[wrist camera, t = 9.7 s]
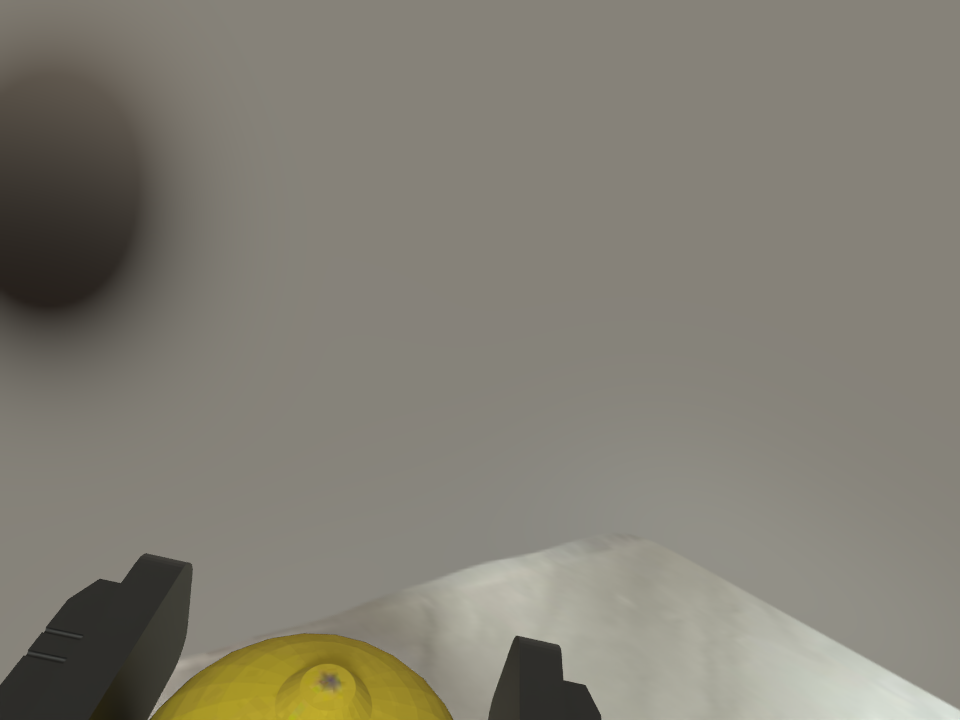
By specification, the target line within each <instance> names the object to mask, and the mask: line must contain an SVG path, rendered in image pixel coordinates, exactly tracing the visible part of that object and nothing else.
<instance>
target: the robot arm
mask: <svg viewBox="0 0 960 720" xmlns="http://www.w3.org/2000/svg"><path fill="white" fill-rule="evenodd" d="M192 570H193V569H192V564H191V563H188V562H183V561H178V560H173V559H169V558H165V557H160V556H155V555H151V554H144V555H142V556H141V557H140V558H139V559H138V561H137V562H136V563H135V564H134V566H133V567H132V569H131V570H130V571H129V573H128V574H127V576H126V577H125V579H124V580H123V581H122V583H117V582H112V581H108V580H103V579H99V580H97V581H96V582H94V583H93V584H91V585H90V586H88V587H87V588H85V589H83V590H82V591H80V592H79V593H77V594H76V595H74V596H73V597H71V598H70V599H68V600H67V601H66V603H65V604H64V605H63V606H62V608H61V609H60V610H59V612H58V613H57V614H56V615H55V617H54V618H53V619H52V620H51V622H50V623H49V624H48V625H47V627H46V630H45V632H44V633H43V632H42V633H41V634H40V636H39V637H38V638H37V639H36V641H35V642H34V643H33V644H32V646H31V647H30V648H29V649H28V653H27V655H26V656H23V657H22V658H21V660H20V661H19V662H18V663H17V665H16V666H15V667H14V668H13V670H12V671H11V672H10V674H9V675H8V676H7V677H6V679H5V680H4V681H3V682H2V684H1V685H0V720H147V719H148V718H149V716H150V714H151V712H152V710H153V708H154V706H155V705H156V703H157V701H158V699H159V697H160V695H161V693H162V692H163V690H164V688H165V686H166V684H167V682H168V680H169V679H170V677H171V675H172V673H173V671H174V669H175V667H176V665H177V663H178V660H179V657H180V655H181V652H182V649H183V646H184V642H185V639H186V634H187V626H188V616H189V605H190V594H191V583H192ZM488 720H601V714H600V712H599V711H598V709H597V707H596V705H595V703H594V701H593V699H592V697H591V695H590V693H589V691H588V689H587V687H586V685H583V684H578V683H573V682H569V681H564V680H563V669H562V654H561V648H560V646H559V645H557V644H552V643H547V642H543V641H538V640H534V639H529V638H525V637H520V636H516V637H515V638H514V640H513V643H512V645H511V648H510V651H509V654H508V657H507V659H506V662H505V665H504V668H503V671H502V674H501V676H500V679H499V682H498V685H497V688H496V691H495V693H494V696H493V700H492V703H491V708H490V712H489V718H488Z"/></svg>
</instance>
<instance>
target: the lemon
mask: <svg viewBox="0 0 960 720" xmlns="http://www.w3.org/2000/svg"><path fill="white" fill-rule="evenodd" d="M150 720H453V719H452V716H451V714H450V713H449V711H448V709H447V708H446V706H445V704H444V703H443V702H442V701H441V700H440V698H439V697H438V696H437V695H436V693H435V692H434V691H433V690H432V689H431V687H430V686H429V685H428V684H427V683H426V681H425V680H424V679H423V678H422V677H420V676H419V675H418V674H417V673H415V672H414V671H413V670H411V669H410V668H409V667H407V666H406V665H405V664H404V663H402V662H401V661H400V660H398V659H397V658H396V657H394V656H393V655H391V654H389V653H387V652H384V651H382V650H380V649H378V648H376V647H374V646H372V645H370V644H368V643H366V642H362V641H358V640H354V639H350V638H346V637H342V636H338V635H329V634H306V633H304V634H297V635H291V636H284V637H277V638H272V639H267V640H264V641H261V642H259V643H256V644H253V645H250V646H247V647H245V648H242V649H239V650H236V651H233V652H231V653H230V654H228V655H226V656H225V657H223V658H221V659H220V660H218V661H217V662H215V663H213V664H212V665H210V666H208V667H207V668H205V669H204V670H202V671H200V672H199V673H198V674H196V675H195V676H194V677H192V678H191V679H189V680H188V681H187V682H186V683H185V684H184V685H183V686H182V687H181V688H180V689H179V690H178V691H177V692H176V693H175V694H174V695H173V696H172V697H171V698H169V699H168V700H167V701H166V702H165V703H164V704H163V705H162V706H161V707H160V708H159V709H158V710H157V711H156V713H155V714H154V715H153V716H152V718H151V719H150Z"/></svg>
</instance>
